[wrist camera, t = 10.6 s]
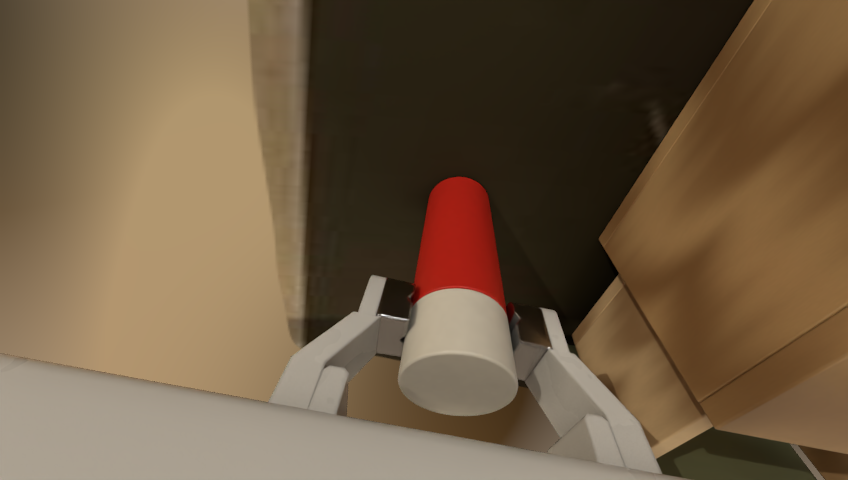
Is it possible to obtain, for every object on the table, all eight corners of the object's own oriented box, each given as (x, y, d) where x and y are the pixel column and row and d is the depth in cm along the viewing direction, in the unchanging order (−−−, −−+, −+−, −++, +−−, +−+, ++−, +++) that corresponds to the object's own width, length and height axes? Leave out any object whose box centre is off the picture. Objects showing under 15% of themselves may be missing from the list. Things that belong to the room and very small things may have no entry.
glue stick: (469, 164, 15) (480, 338, 7) (499, 212, 16) (539, 404, 8) (416, 195, 16) (373, 372, 8) (449, 237, 18) (439, 424, 10)
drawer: (684, 412, 24) (760, 549, 18) (521, 382, 24) (542, 510, 18) (982, 218, 13) (1452, 402, 7) (683, 155, 13) (895, 288, 7)
